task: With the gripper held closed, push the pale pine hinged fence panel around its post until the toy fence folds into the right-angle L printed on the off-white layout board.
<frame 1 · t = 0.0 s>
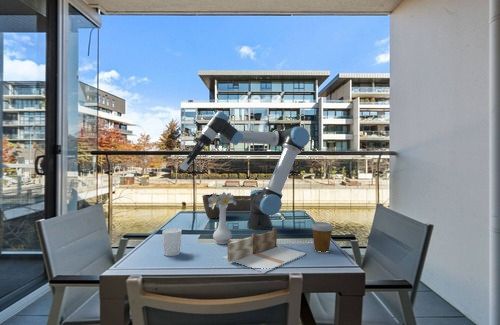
hand: (182, 169, 141), 36 cm above the table, tool tilted 35°, fingers open, 13 cm apart
plant pot: (212, 218, 195), on the table
disposable coffee cup: (321, 251, 123), on the table
white cup: (171, 254, 117), on the table
hinged fence panel: (240, 248, 111), point 4 cm above the table, hinge at 0.0°
flower vase: (220, 242, 135), on the table
layout board: (265, 256, 115), on the table
fixed fence section: (253, 254, 117), resting on layout board
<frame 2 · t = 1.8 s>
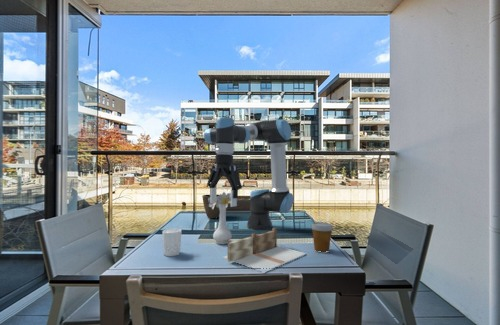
hand: (222, 204, 115), 22 cm above the table, tool pointing down, fingers open, 13 cm apart
nothing on the table moved.
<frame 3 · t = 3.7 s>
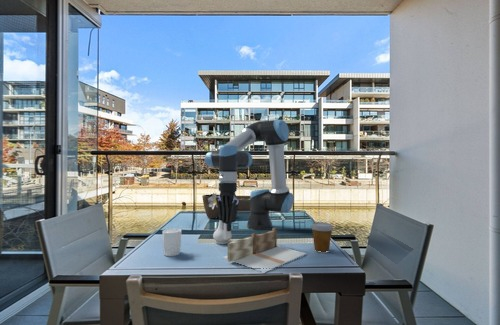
hand: (226, 238, 114), 8 cm above the table, tool pointing down, fingers closed
nothing on the table moved.
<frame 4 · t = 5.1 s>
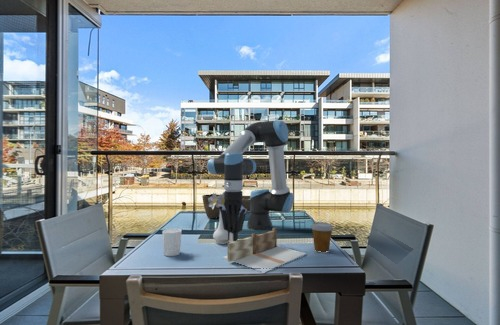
hand: (232, 248, 111), 5 cm above the table, tool pointing down, fingers closed
hinged fence panel: (240, 248, 111), point 4 cm above the table, hinge at 0.0°, touching gripper
everything else where it was.
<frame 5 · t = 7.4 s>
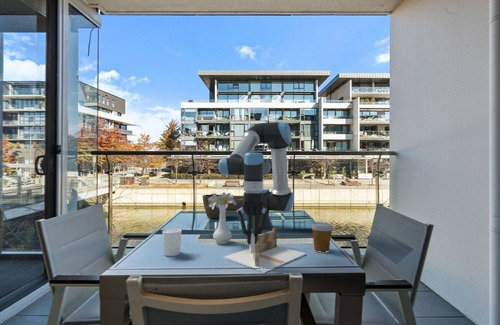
hand: (251, 251, 107), 5 cm above the table, tool pointing down, fingers closed
hinged fence panel: (255, 250, 109), point 4 cm above the table, hinge at 47.5°, touching gripper
everything else where it was.
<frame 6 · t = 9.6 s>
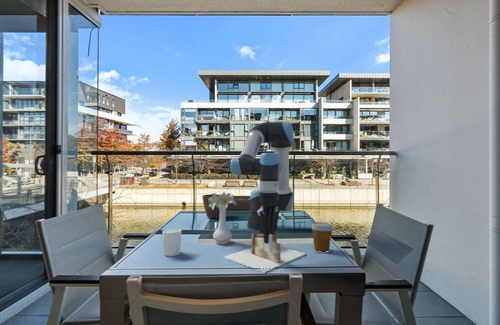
hand: (268, 250, 108), 5 cm above the table, tool pointing down, fingers closed
hinged fence panel: (267, 249, 111), point 4 cm above the table, hinge at 85.3°, touching gripper
everything else where it was.
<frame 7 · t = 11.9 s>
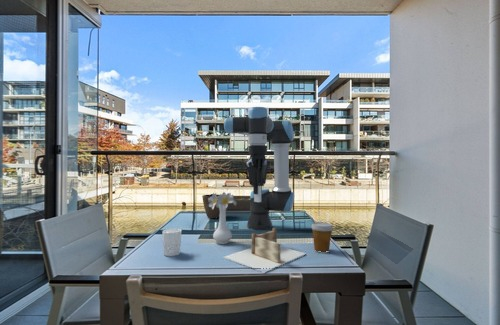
hand: (257, 201, 113), 23 cm above the table, tool pointing down, fingers closed
hinged fence panel: (267, 249, 111), point 4 cm above the table, hinge at 85.3°
everything else where it was.
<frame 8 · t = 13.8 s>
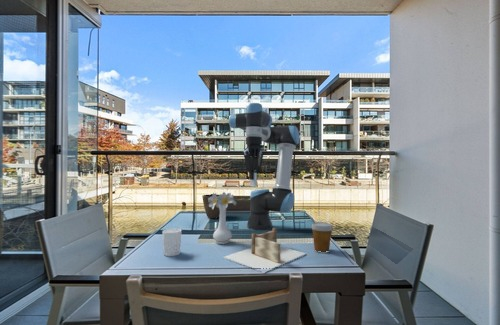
hand: (253, 186, 128), 28 cm above the table, tool pointing down, fingers closed
nothing on the table moved.
at the end: hinged fence panel at +85° (first picture: +0°) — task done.
